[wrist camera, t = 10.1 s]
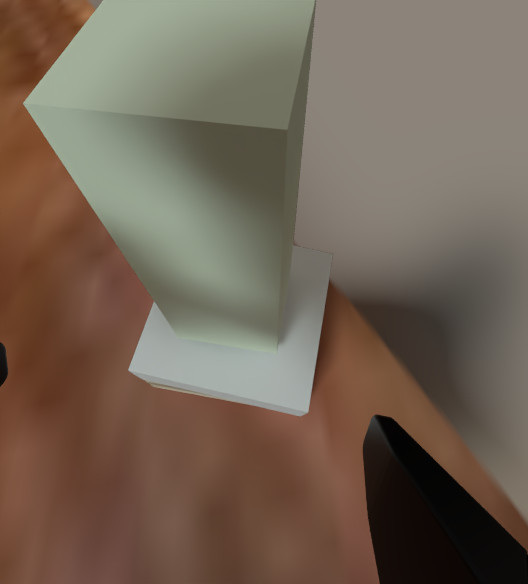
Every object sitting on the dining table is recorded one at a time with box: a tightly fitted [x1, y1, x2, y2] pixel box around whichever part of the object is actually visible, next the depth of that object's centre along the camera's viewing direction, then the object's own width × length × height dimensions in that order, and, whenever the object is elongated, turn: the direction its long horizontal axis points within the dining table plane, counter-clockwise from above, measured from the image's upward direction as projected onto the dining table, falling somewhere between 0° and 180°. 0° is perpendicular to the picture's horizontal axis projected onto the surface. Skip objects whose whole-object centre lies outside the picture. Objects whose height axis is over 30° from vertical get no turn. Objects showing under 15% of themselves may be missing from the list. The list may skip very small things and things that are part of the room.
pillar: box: [23, 0, 316, 354], centre depth 13 cm, size 5×5×12 cm
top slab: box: [128, 245, 333, 416], centre depth 20 cm, size 9×9×2 cm
